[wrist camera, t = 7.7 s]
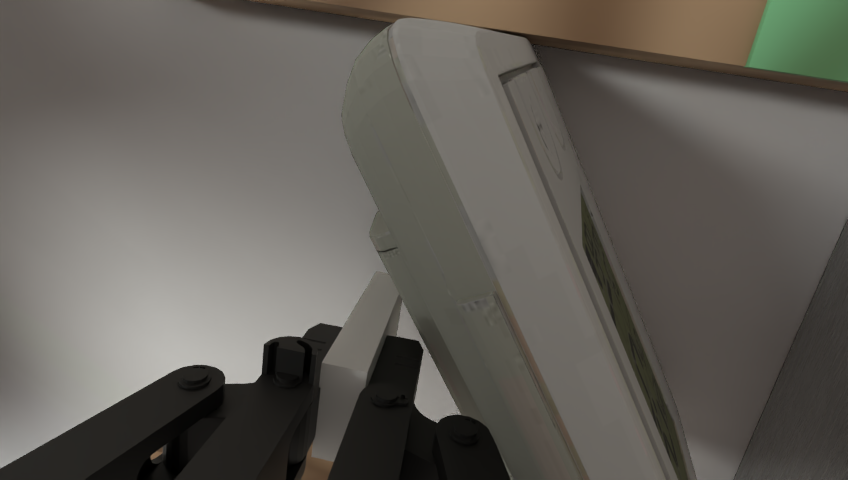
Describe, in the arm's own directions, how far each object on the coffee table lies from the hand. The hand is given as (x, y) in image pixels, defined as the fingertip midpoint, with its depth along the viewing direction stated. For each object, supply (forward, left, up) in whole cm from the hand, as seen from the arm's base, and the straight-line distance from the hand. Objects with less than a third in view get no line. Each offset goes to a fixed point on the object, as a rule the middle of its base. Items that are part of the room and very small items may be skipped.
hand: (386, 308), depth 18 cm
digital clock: (+5, +2, -1) cm, 6 cm away
